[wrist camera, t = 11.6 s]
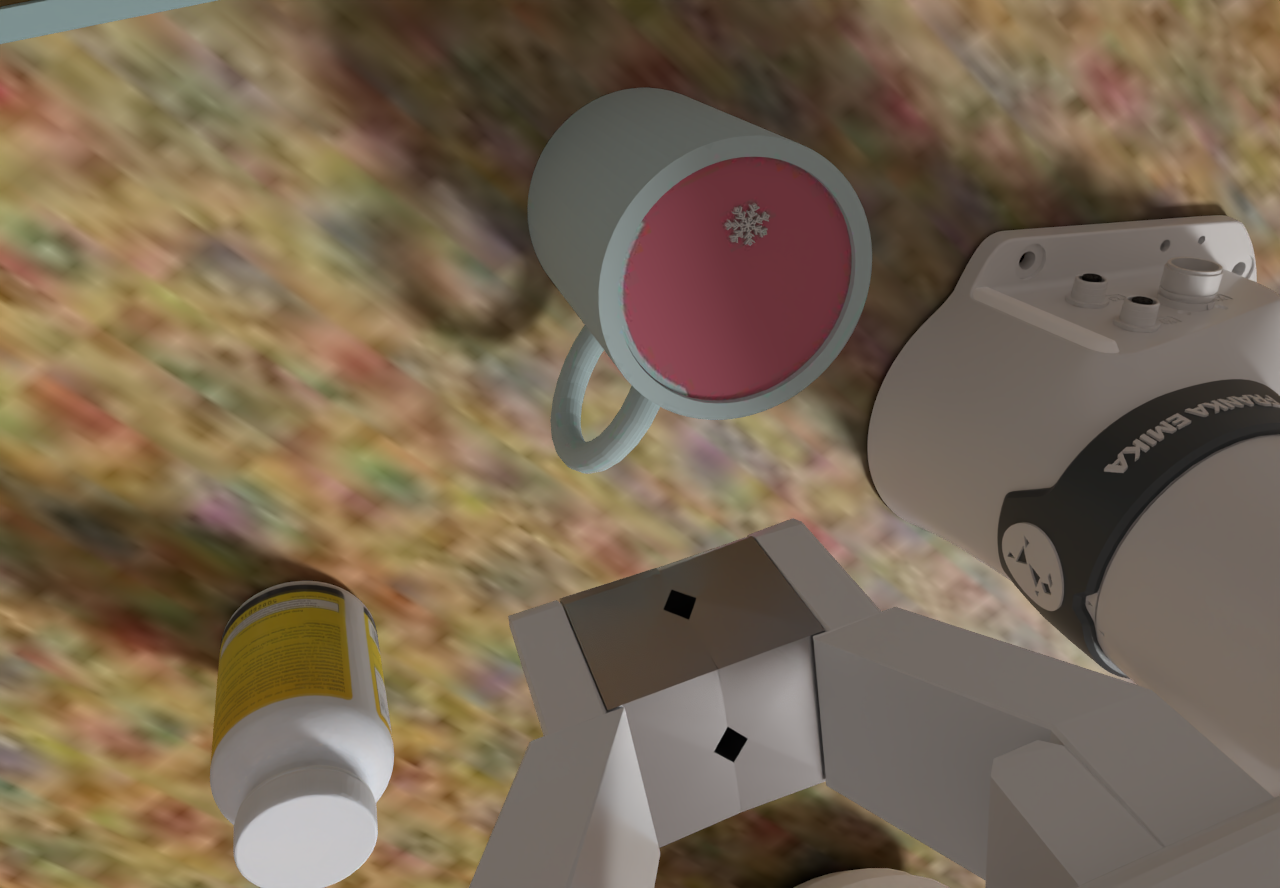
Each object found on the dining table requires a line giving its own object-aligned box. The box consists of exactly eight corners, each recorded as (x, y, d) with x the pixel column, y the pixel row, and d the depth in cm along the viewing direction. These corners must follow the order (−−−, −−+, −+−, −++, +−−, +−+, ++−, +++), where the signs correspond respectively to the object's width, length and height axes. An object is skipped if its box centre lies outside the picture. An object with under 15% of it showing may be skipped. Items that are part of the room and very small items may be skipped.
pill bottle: (190, 615, 40) (160, 834, 30) (335, 549, 41) (351, 742, 31) (269, 714, 44) (264, 939, 34) (401, 651, 44) (433, 854, 35)
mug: (604, 38, 35) (704, 72, 27) (788, 163, 39) (924, 227, 31) (431, 355, 38) (472, 474, 30) (619, 437, 43) (700, 561, 34)
